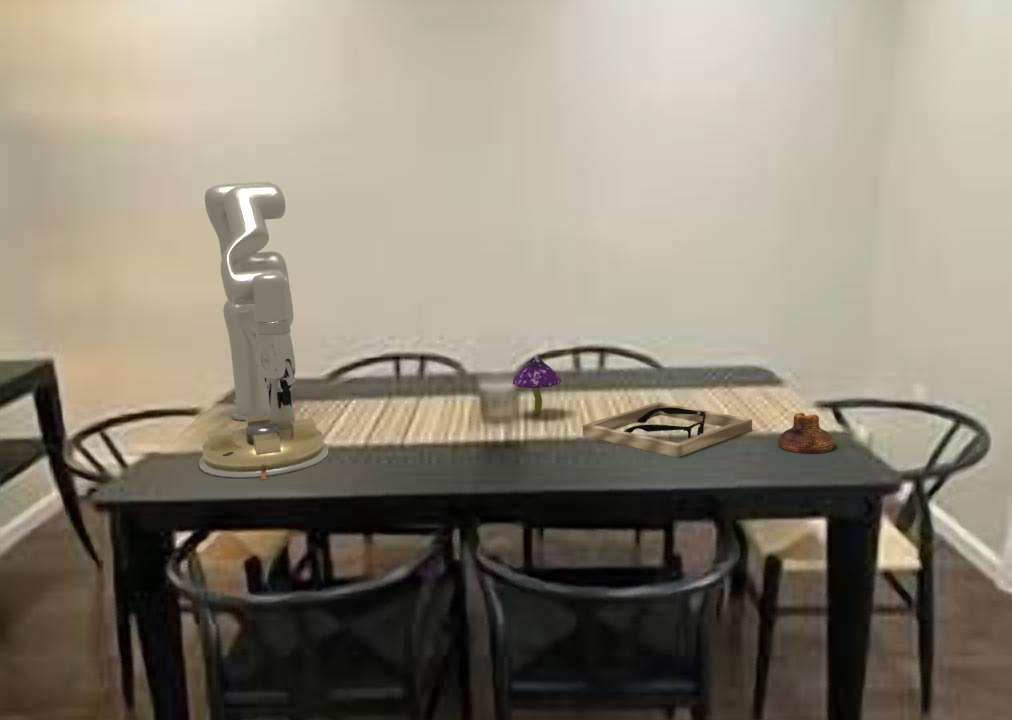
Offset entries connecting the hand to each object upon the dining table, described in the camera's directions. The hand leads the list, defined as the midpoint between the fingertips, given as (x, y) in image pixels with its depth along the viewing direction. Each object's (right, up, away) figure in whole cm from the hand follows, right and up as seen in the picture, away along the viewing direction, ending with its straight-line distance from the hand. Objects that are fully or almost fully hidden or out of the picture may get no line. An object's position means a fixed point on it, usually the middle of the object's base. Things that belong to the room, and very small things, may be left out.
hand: (280, 406), depth 231 cm
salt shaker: (0, -5, +1) cm, 5 cm away
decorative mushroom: (+60, -3, +20) cm, 63 cm away
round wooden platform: (-2, -10, -7) cm, 12 cm away
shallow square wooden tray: (+89, -6, -1) cm, 89 cm away
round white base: (-2, -11, -7) cm, 13 cm away
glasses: (+88, -7, -1) cm, 88 cm away
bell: (+116, -8, -16) cm, 117 cm away
